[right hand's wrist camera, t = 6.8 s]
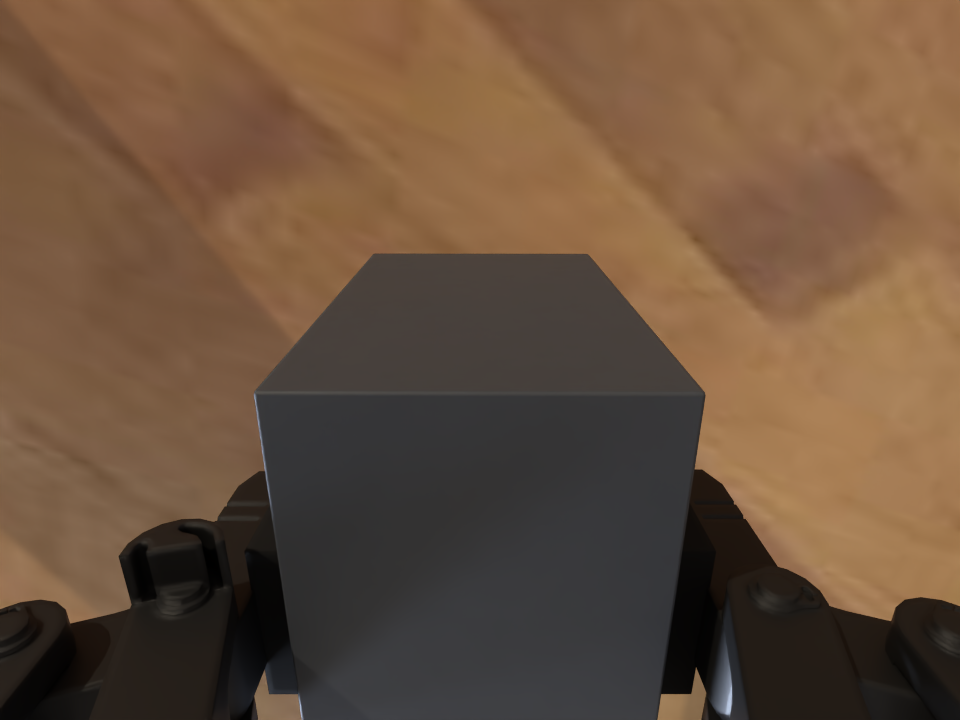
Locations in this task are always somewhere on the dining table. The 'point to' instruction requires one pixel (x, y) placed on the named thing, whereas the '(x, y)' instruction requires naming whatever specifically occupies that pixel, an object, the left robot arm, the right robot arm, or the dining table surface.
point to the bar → (479, 493)
